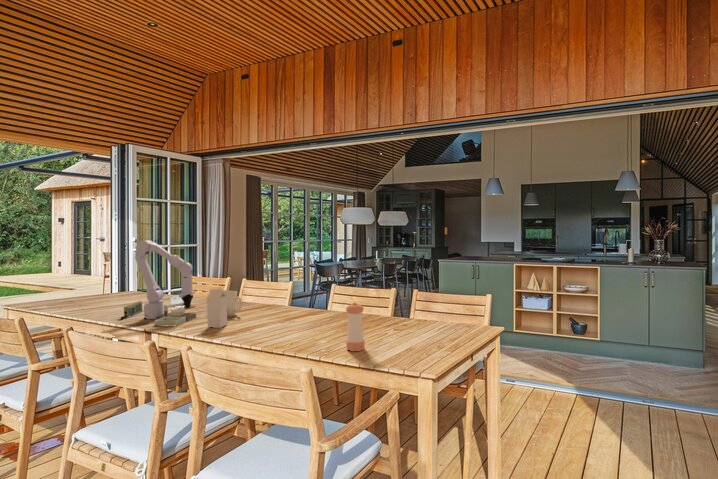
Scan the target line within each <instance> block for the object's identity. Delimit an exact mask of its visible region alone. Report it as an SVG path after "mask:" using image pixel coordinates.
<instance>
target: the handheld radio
mask: <svg viewBox="0 0 718 479" xmlns="http://www.w3.org/2000/svg"><path fill="white" fill-rule="evenodd" d="M142 312H143V302H142V300H141V301H140V300H139V301H136V302H134V303H130V304H128V305H126V306H124V307H123V316H121V317H120V318H124V319H126V318H125V317H129V316H131V317H133V316H132V315H134V316H136V315H138V314H139V313H142ZM137 313H138V314H137ZM135 314H136V315H135ZM129 318H130V317H129Z"/></svg>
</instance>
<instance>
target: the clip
mask: <svg viewBox="0 0 718 479" xmlns="http://www.w3.org/2000/svg"><path fill="white" fill-rule="evenodd" d="M182 306H185V304H184V302H180V303H173V304H163V314H164V315H167V314H168V313H169V310H168V308H174V307H175V308H177V307H182Z"/></svg>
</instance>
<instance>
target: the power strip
mask: <svg viewBox="0 0 718 479" xmlns="http://www.w3.org/2000/svg"><path fill="white" fill-rule="evenodd" d="M163 317H186V322H189V321H191V320H193V319H194V320H195V319H196V318H197V313H196V312H193V311H191V312H190V311H189V312H184V315H182V316H171V314H170V312H168V314H167V315H164V313H163V314H162V315H159V316H156V319H155V320H157V319H160V318H163Z"/></svg>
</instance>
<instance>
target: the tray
mask: <svg viewBox="0 0 718 479" xmlns="http://www.w3.org/2000/svg"><path fill="white" fill-rule="evenodd" d="M153 322H154V325H178V326H180V325H182V323H183V324H184V323H186V322H187V321H186V317H163V318H160V319H157V320H156V319H154V321H153ZM179 324H180V325H179Z"/></svg>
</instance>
